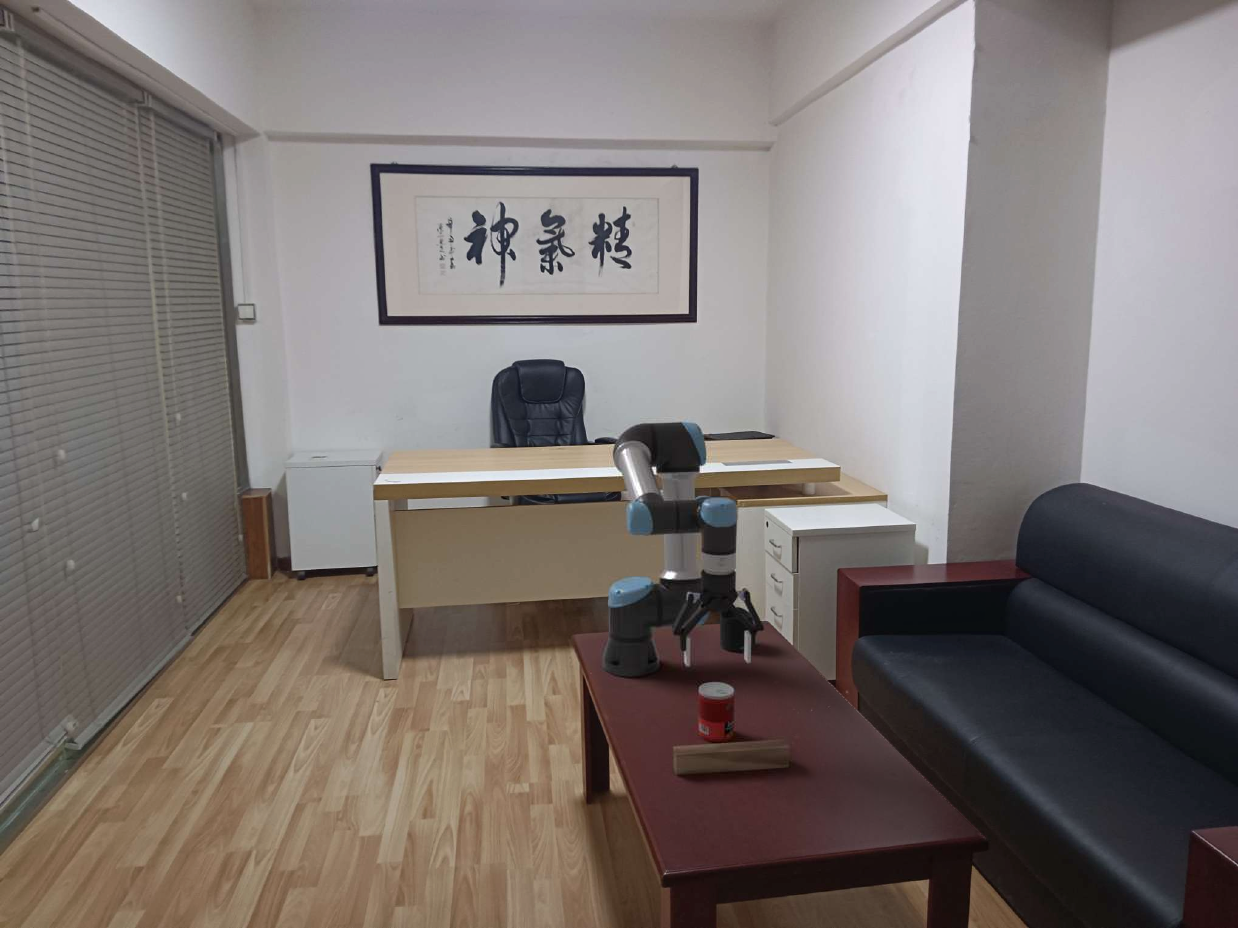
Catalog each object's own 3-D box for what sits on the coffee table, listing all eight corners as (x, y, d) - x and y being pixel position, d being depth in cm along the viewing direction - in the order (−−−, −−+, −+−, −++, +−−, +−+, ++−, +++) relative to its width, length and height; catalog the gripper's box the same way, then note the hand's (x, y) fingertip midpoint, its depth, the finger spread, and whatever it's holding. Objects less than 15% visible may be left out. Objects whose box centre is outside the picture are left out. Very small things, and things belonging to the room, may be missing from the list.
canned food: (732, 744, 197) (733, 697, 195) (696, 741, 198) (696, 694, 196) (735, 728, 204) (735, 683, 202) (700, 724, 206) (700, 680, 204)
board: (673, 766, 188) (673, 746, 187) (783, 758, 191) (784, 739, 190) (676, 774, 185) (676, 754, 184) (788, 766, 187) (789, 747, 186)
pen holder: (718, 651, 247) (718, 617, 245) (720, 639, 256) (720, 606, 254) (752, 654, 246) (753, 619, 244) (753, 641, 255) (754, 607, 253)
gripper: (664, 577, 189) (664, 672, 193) (779, 572, 192) (777, 665, 195) (658, 567, 196) (658, 658, 200) (769, 562, 199) (767, 652, 203)
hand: (717, 662), depth 198 cm, fingers open, 13 cm apart
